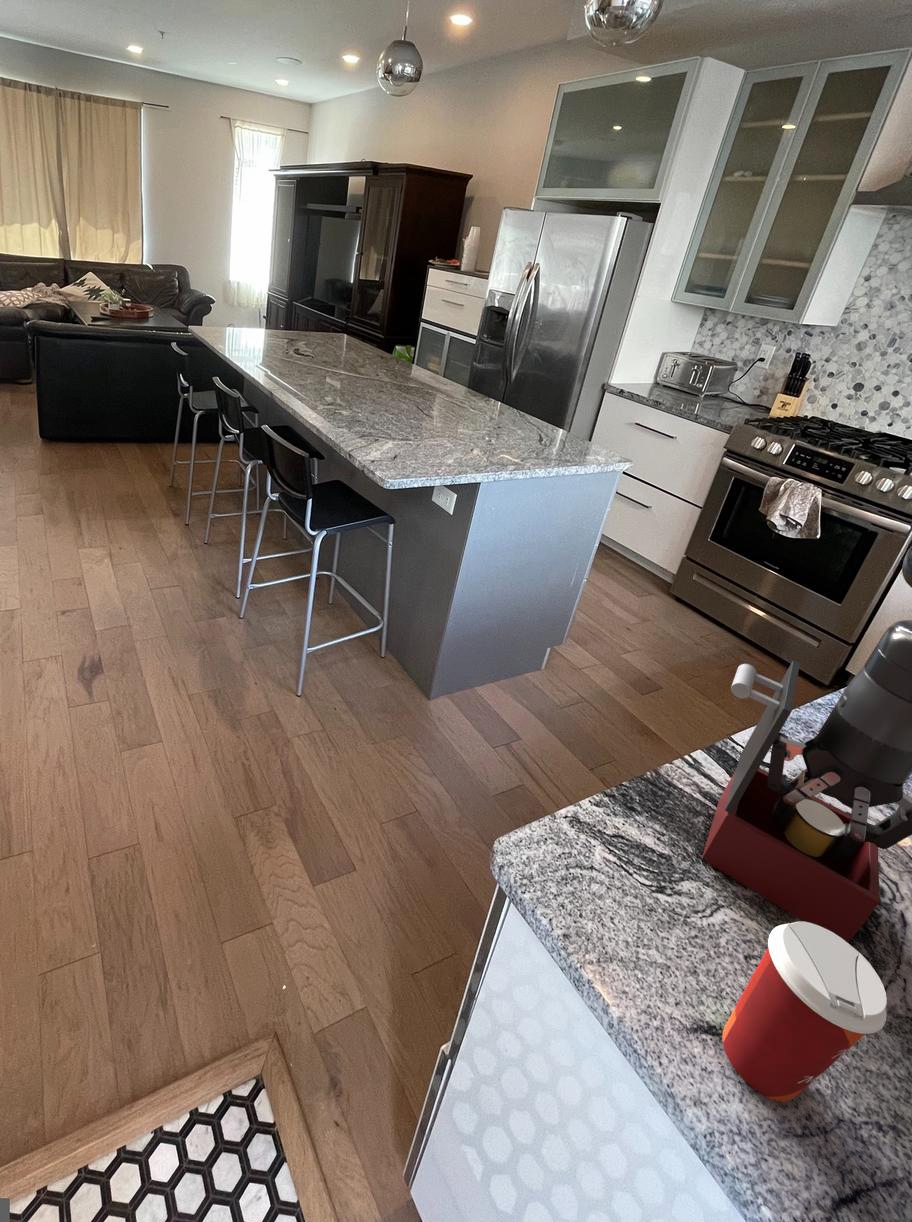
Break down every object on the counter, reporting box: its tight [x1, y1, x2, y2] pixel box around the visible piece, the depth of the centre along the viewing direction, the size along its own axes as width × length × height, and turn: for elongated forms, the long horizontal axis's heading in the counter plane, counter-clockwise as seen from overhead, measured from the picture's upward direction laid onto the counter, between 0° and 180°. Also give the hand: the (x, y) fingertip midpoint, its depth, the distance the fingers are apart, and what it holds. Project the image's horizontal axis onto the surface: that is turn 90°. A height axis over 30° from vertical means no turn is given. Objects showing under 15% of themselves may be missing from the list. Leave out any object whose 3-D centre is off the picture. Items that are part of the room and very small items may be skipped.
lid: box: [725, 660, 801, 814], centre depth 70 cm, size 14×12×5 cm
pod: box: [784, 799, 845, 857], centre depth 68 cm, size 5×5×4 cm
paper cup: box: [721, 921, 888, 1103], centre depth 51 cm, size 8×8×14 cm
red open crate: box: [701, 767, 881, 944], centre depth 70 cm, size 14×12×8 cm
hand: (804, 838), depth 69 cm, fingers closed on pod, 4 cm apart
